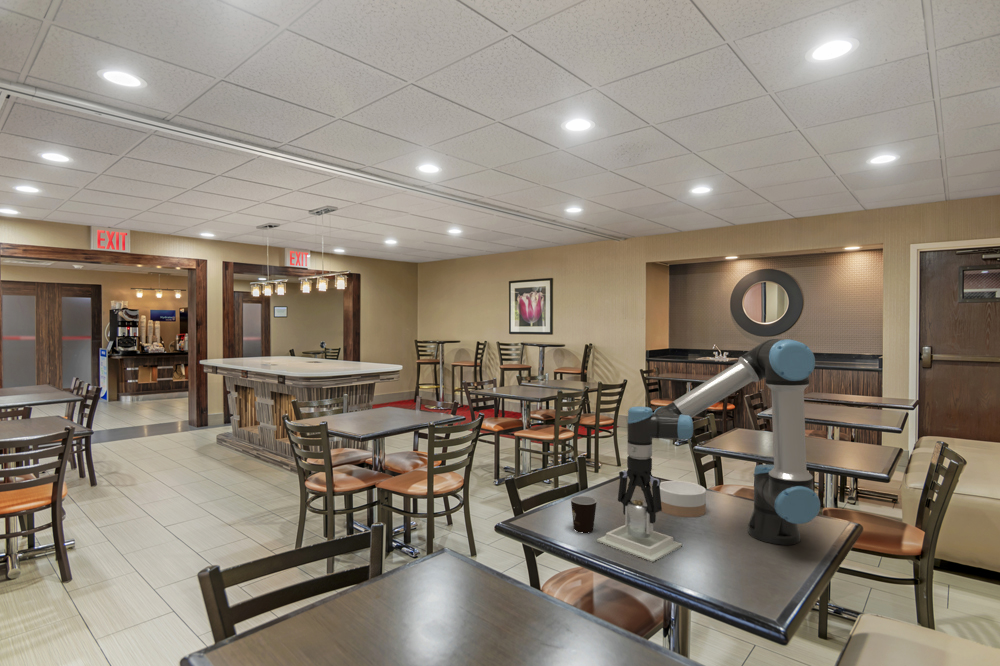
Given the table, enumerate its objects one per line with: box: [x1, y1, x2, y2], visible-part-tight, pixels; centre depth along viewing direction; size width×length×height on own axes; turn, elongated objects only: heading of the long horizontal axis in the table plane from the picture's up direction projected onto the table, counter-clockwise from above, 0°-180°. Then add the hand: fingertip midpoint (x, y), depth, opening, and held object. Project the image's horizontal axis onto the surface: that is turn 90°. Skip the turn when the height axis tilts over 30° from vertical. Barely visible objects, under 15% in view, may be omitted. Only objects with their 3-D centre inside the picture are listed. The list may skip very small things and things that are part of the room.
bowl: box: [660, 480, 707, 518], centre depth 195 cm, size 17×17×8 cm
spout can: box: [628, 499, 651, 539], centre depth 163 cm, size 7×7×11 cm
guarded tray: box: [596, 524, 683, 561], centre depth 163 cm, size 20×17×3 cm
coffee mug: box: [570, 495, 597, 534], centre depth 176 cm, size 12×9×10 cm
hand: (638, 529), depth 163 cm, fingers closed on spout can, 7 cm apart
